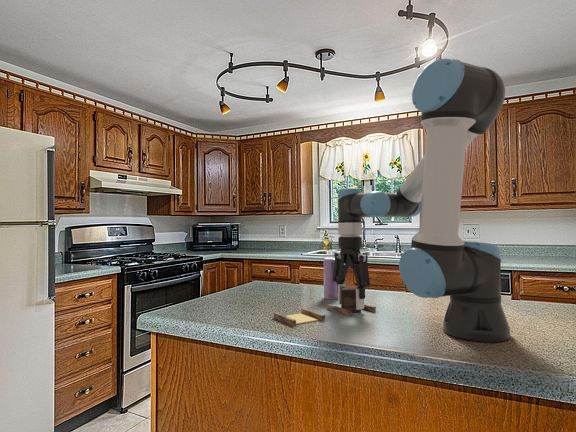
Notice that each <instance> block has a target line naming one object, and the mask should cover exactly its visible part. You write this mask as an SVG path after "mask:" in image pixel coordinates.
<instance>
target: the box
mask: <svg viewBox="0 0 576 432" xmlns="http://www.w3.org/2000/svg"><path fill="white" fill-rule="evenodd" d="M356 287H358V286H356V285H355V286H352V285H351V286H347V285H346V286H341V304H340V308H343V309H347V310H350V311H352V313H362V309H360V310H357V309H356Z"/></svg>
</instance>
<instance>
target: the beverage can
mask: <svg viewBox="0 0 576 432" xmlns="http://www.w3.org/2000/svg"><path fill="white" fill-rule="evenodd" d="M334 263H335V257H324V258H323V297H324V299H326V300H338V292H337V283H336V282H335V281H333V272H334ZM336 278H337V277H336Z"/></svg>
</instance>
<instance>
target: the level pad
mask: <svg viewBox="0 0 576 432" xmlns="http://www.w3.org/2000/svg"><path fill="white" fill-rule="evenodd" d="M286 316H287V317H289V318H292V319H294V320H296V326H297V325H301V324H307V323H312V322H319V320H318V319H315V318H313V317H310V316H307V315H305V314H302V312H301V313H295V314H289V315H286Z"/></svg>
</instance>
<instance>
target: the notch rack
mask: <svg viewBox="0 0 576 432" xmlns="http://www.w3.org/2000/svg"><path fill="white" fill-rule="evenodd" d="M326 310H328V311H330V312H331V311H332V312H334V313H337V314H341V315H343V316H347V317H351V316H352V315H353V314H352V313H353V312H352V311H350V310H347V309H343V308H341V306H336V305H332V304H330V303H328V304H326ZM363 310H364V311H368V312H372V313H375V312H377V311H376V310H377V307H376V306H374V305H369V304H366V303H364V309H363ZM301 313H302V314H305V315H307V316H310V317H313V318H315V319H318V321H320V322H321V321H322V322H325V321H326V315H325V314H323V313H319V312H316V311H314V310H310V309H308V308H305V307H303V308H301ZM287 316H288V315H284V314H281V313H280V312H277V311H276V312H273V319H276V320H278V321H280V322H282V323H284V324H287V325H289V326H292V327H297V325H296V320H294V319H292V318H289V317H287Z"/></svg>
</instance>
